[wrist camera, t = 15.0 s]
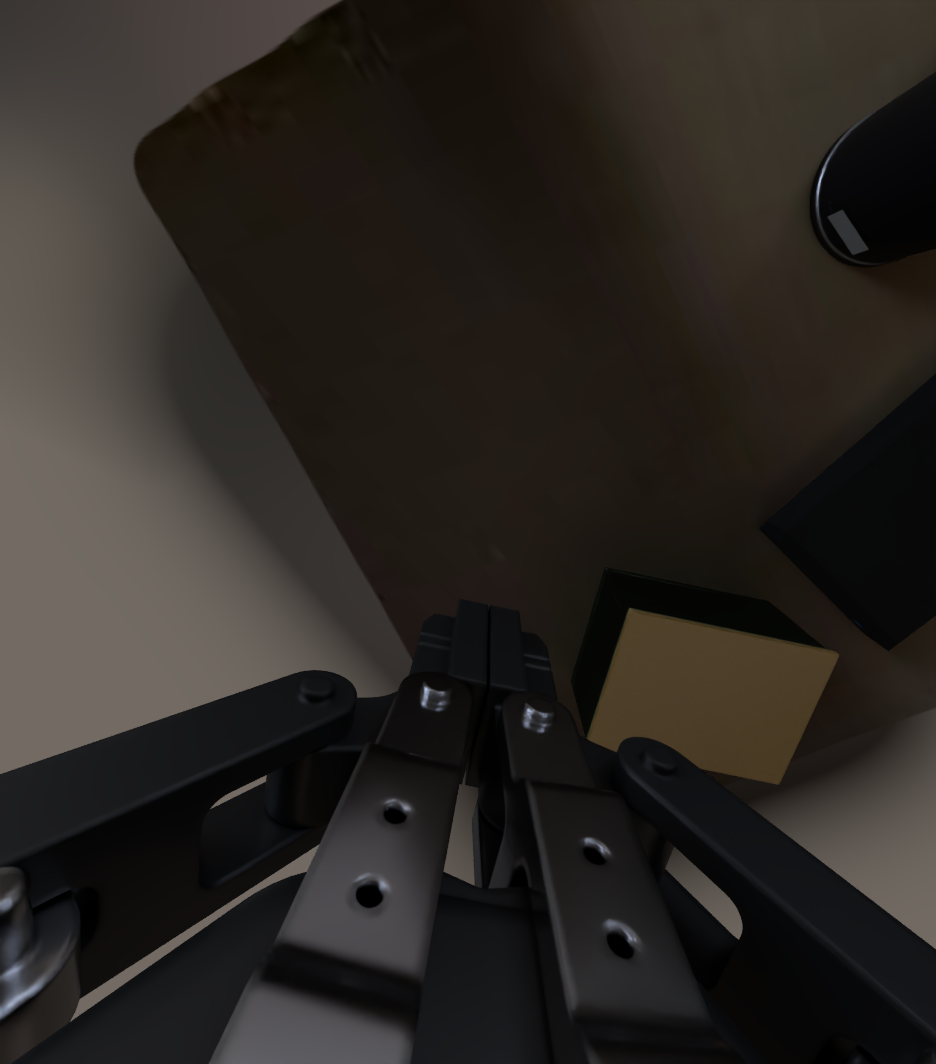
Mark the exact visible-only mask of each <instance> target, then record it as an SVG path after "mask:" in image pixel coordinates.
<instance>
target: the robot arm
mask: <svg viewBox="0 0 936 1064" xmlns="http://www.w3.org/2000/svg"><path fill="white" fill-rule="evenodd" d="M810 216H811V222H812V226H813V229H814V232H815V234H816V237H817V238H818V240H819V242H820V243H821V245H822V246H823V248H824V249H825V250H826V251H827V252H828V253H829V254H830V255H832V256H833V257H834V258H836V259H837V260H839V261H841V262H843V263H846V264H849V265H852V266H858V267H875V266H881V265H885V264H889V263H892V262H895V261H899V260H901V259H904V258H906V257H908V256H911V255H915V254H919V253H923V252H927V251H930V250H934V249H936V72H934V73H933V74H931V75H930V76H928V77H927V78H926V79H924V80H923V81H921V82H920V83H918V84H917V85H915V86H914V87H912V88H911V89H909V90H908V91H906V92H905V93H903V94H902V95H900V96H899V97H897V98H896V99H894V100H893V101H891V102H890V103H888V104H887V105H885V106H884V107H882V108H881V109H879V110H878V111H876V112H874V113H872V114H870V115H868V116H866V117H865V118H863V119H862V120H860V121H859V122H858V123H856V124H855V125H853V126H852V127H851V128H849V129H848V130H847V131H846V132H844V133H843V134H842V135H841V136H840V137H839V138H838V139H837V141H836V142H835V143H834V144H833V145H832V146H831V148H830V149H829V150H828V152H827V154H826V155H825V157H824V158H823V160H822V162H821V164H820V166H819V168H818V170H817V173H816V176H815V178H814V182H813V185H812V190H811V197H810ZM465 770H466V780H465V785H468V786H473V787H478V799H477V803H476V807H475V811H474V815H473V818H472V832H473V853H474V876H475V886H474V885H471V884H469V883H467V882H465V881H463V880H460V879H458V878H456V877H454V876H451V875H450V874H447V873H445V872H443V870H444V865H445V860H446V855H447V849H448V843H449V838H450V833H451V827H452V822H453V816H454V811H455V805H456V799H457V794H458V789H459V784H462V782H463V778H464V773H465ZM265 775H267V777H266V782H264V783H263V784H260V785H258V786H256V787H254V788H252V789H250V790H248V791H246V792H244V793H242V794H240V795H238V796H236V797H234V798H232V799H230V800H228V801H226V802H224V803H222V804H220V805H218V806H216V807H214V808H212V809H210V808H211V807H212V806H213V805H214V804H215V803H216V802H217V801H218V800H219V799H220V798H222V797H223V796H225V795H227V794H228V793H230V792H232V791H234V790H236V789H239V788H240V787H242V786H245V785H247V784H249V783H251V782H253V781H255V780H257V779H259V778H261V777H263V776H265ZM317 845H319V847H318V849H317V851H316V853H315V856H314V858H313V860H312V862H311V864H310V866H309V868H308V870H307V872H305V873H301V874H297V875H294V876H290V877H288V878H285V879H283V880H280V881H278V882H276V883H273V884H271V885H269V886H267V887H266V888H264V889H262V890H260V891H258V892H257V893H255V894H253V895H251V896H250V897H248V898H247V899H245V900H244V901H242V902H241V903H240V904H238V905H237V906H235V907H234V908H232V909H231V910H230V911H228V912H227V913H225V914H224V915H222V916H221V917H220V918H218V919H217V920H215V921H214V922H212V923H211V924H210V925H208V926H207V927H205V928H204V929H202V930H201V931H200V932H198V933H197V934H195V935H194V936H193V937H191V938H190V939H188V940H187V941H185V942H184V943H182V944H181V945H180V946H178V947H177V948H175V949H174V950H172V951H171V952H170V953H168V954H167V955H165V956H164V957H162V958H161V959H160V960H158V961H157V962H155V963H154V964H152V965H151V966H149V967H148V968H147V969H145V970H144V971H142V972H141V973H139V974H138V975H137V976H135V977H134V978H132V979H131V980H130V981H128V982H127V983H125V984H124V985H122V986H121V987H119V988H118V989H117V990H115V991H114V992H112V993H111V994H110V995H108V996H107V997H105V998H104V999H102V1000H101V1001H99V1002H98V1003H97V1004H95V1005H94V1006H92V1007H91V1008H89V1009H88V1010H87V1011H85V1012H84V1013H82V1014H81V1015H79V1016H78V1017H77V1018H75V1019H74V1020H72V1021H71V1019H72V1017H73V1015H74V1013H75V1011H76V1008H77V1005H78V1002H79V999H80V998H82V997H83V996H85V995H87V994H88V993H90V992H91V991H93V990H94V989H96V988H97V987H99V986H101V985H102V984H103V983H105V982H107V981H108V980H110V979H111V978H113V977H114V976H116V975H117V974H119V973H121V972H122V971H124V970H125V969H127V968H128V967H130V966H131V965H133V964H135V963H136V962H138V961H139V960H141V959H142V958H144V957H145V956H147V955H148V954H150V953H152V952H153V951H155V950H156V949H158V948H159V947H161V946H162V945H164V944H166V943H167V942H169V941H170V940H172V939H173V938H175V937H176V936H178V935H179V934H181V933H183V932H184V931H186V930H187V929H189V928H190V927H192V926H193V925H195V924H196V923H198V922H200V921H201V920H203V919H204V918H206V917H207V916H209V915H210V914H212V913H213V912H215V911H216V910H218V909H220V908H221V907H223V906H224V905H226V904H227V903H229V902H230V901H232V900H234V899H235V898H237V897H238V896H240V895H241V894H243V893H244V892H246V891H247V890H249V889H250V888H252V887H254V886H255V885H257V884H258V883H260V882H261V881H263V880H264V879H266V878H268V877H269V876H271V875H272V874H274V873H275V872H277V871H278V870H280V869H282V868H283V867H285V866H286V865H288V864H289V863H291V862H292V861H294V860H295V859H297V858H299V857H300V856H301V855H303V854H305V853H306V852H308V851H309V850H311V849H312V848H314V847H316V846H317ZM674 846H675V847H676V848H677V849H678V850H679V851H680V852H681V853H682V854H683V855H684V856H685V857H687V858H688V859H689V860H690V861H691V862H692V863H693V864H694V865H695V866H696V867H697V868H699V870H701V871H702V872H703V873H704V874H705V875H706V876H707V877H708V878H709V879H710V880H711V881H712V882H713V883H715V884H716V885H717V886H718V887H719V888H720V889H721V890H722V891H723V892H724V893H725V894H726V895H727V896H728V897H729V898H730V899H731V900H732V901H733V903H734V904H735V906H736V907H737V909H738V911H739V914H740V916H741V920H742V924H743V930H742V934H741V937H740V939H739V940H738V939H737V938H736V937H734V936H733V935H732V934H731V933H730V932H729V931H728V930H727V929H726V928H725V927H724V926H723V925H722V924H721V923H720V922H719V921H718V920H717V919H716V918H715V917H714V916H712V914H711V913H710V912H709V911H708V910H707V909H706V908H704V906H703V905H701V904H700V903H699V902H698V901H697V900H696V899H695V898H694V897H693V896H692V895H691V894H690V893H689V892H688V891H687V890H686V889H685V888H684V887H683V886H682V885H681V884H680V883H679V882H678V881H677V880H676V879H675V878H674V877H673V876H672V875H671V874H670V873H669V872H668V871H667V870H666V869H665V867H666V865H667V862H668V860H669V858H670V855H671V852H672V850H673V848H674ZM70 1021H71V1022H70ZM0 1064H936V949H935V948H933V947H932V946H931V945H929V944H928V943H927V942H925V941H924V940H923V939H922V938H920V937H919V936H917V935H916V934H915V933H913V932H912V931H911V930H910V929H908V928H907V927H906V926H905V925H903V924H902V923H901V922H899V921H898V920H897V919H895V918H894V917H893V916H892V915H890V914H889V913H887V912H886V911H885V910H884V909H882V908H881V907H880V906H879V905H877V904H876V903H875V902H873V901H872V900H871V899H869V898H868V897H867V896H865V895H864V894H863V893H861V892H860V891H859V890H858V889H856V888H855V887H854V886H853V885H851V884H850V883H848V882H847V881H846V880H845V879H843V878H842V877H841V876H839V875H838V874H837V873H836V872H834V871H833V870H832V869H830V868H829V867H828V866H826V865H825V864H824V863H822V862H821V861H820V860H819V859H817V858H816V857H815V856H813V855H812V854H811V853H810V852H808V851H807V850H806V849H804V848H803V847H802V846H800V845H799V844H798V843H796V842H795V841H794V840H793V839H791V838H790V837H789V836H787V835H786V834H785V833H783V832H782V831H781V830H779V829H778V828H777V827H776V826H774V825H773V824H772V823H770V822H769V821H767V819H765V818H764V817H762V816H761V815H760V814H759V813H757V812H756V811H755V810H753V809H752V808H751V807H749V806H748V805H747V804H745V803H744V802H743V801H742V800H740V799H739V798H738V797H736V796H735V795H734V794H733V793H731V792H730V791H729V790H727V789H726V788H725V787H723V786H722V785H721V784H720V783H718V782H717V781H716V780H714V779H713V778H712V777H710V776H709V775H708V774H707V773H705V772H704V771H703V770H701V769H700V768H699V767H697V766H696V765H695V764H694V763H692V762H691V761H690V760H688V759H687V758H686V757H684V756H683V755H682V754H680V753H679V752H678V751H676V750H675V749H673V748H671V747H670V746H668V745H666V744H664V743H662V742H659V741H657V740H654V739H650V738H645V737H630V738H627V739H625V740H623V741H622V742H621V743H620V745H619V748H618V751H617V752H615V751H612V750H610V749H608V748H605V747H603V746H601V745H598V744H596V743H594V742H592V741H589V740H588V739H586V738H584V737H582V736H581V735H579V732H578V729H577V726H576V723H575V720H574V718H573V716H572V714H571V713H570V711H569V710H568V709H567V708H566V707H565V706H564V705H562V704H561V703H560V702H558V699H557V694H556V689H555V684H554V679H553V674H552V672H551V664H550V661H549V654H548V649H547V646H546V645H545V644H544V643H543V641H542V640H541V639H540V638H539V637H538V636H537V634H532V633H527V632H522V631H521V623H520V614H519V611H516V610H511V609H507V608H502V607H497V606H492V605H490V607H489V609H488V605H487V604H482V603H477V602H472V601H468V600H463V599H459V603H458V607H457V612H456V617H455V618H454V617H449V616H444V615H440V614H434V615H432V616H431V617H429V618H428V619H427V620H425V621H424V623H423V626H422V630H421V634H420V637H419V641H418V644H417V648H416V652H415V655H414V659H413V662H412V666H411V670H410V673H409V676H408V677H406V678H405V679H404V680H403V681H402V683H401V684H400V687H399V689H398V691H397V692H395V693H392V694H390V695H386V696H381V697H372V698H357V692H356V689H355V687H354V686H353V684H352V683H351V682H350V681H349V680H347V679H346V678H344V677H342V676H340V675H338V674H335V673H332V672H328V671H320V670H319V671H317V670H310V671H302V672H298V673H294V674H291V675H288V676H286V677H283V678H280V679H277V680H274V681H271V682H268V683H265V684H262V685H259V686H256V687H254V688H251V689H248V690H245V691H242V692H239V693H236V694H233V695H230V696H227V697H224V698H221V699H218V700H216V701H213V702H210V703H207V704H204V705H201V706H198V707H195V708H192V709H189V710H187V711H184V712H181V713H178V714H175V715H172V716H169V717H167V718H163V719H160V720H158V721H155V722H151V723H149V724H146V725H143V726H140V727H137V728H134V729H131V730H128V731H126V732H122V733H120V734H117V735H114V736H111V737H108V738H105V739H102V740H99V741H96V742H93V743H91V744H87V745H84V746H81V747H79V748H76V749H73V750H70V751H67V752H64V753H61V754H58V755H55V756H53V757H50V758H46V759H44V760H41V761H38V762H35V763H32V764H29V765H26V766H23V767H21V768H18V769H15V770H11V771H9V772H6V773H3V774H0Z"/></svg>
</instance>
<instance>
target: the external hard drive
mask: <svg viewBox="0 0 936 1064" xmlns="http://www.w3.org/2000/svg"><path fill="white" fill-rule="evenodd" d="M759 529H760V530H761V531H762V532H763V533H764V534H765V535H766V536H767V537H768V538H769V539H770V540H771V541H772V542H773V543H774V544H775V545H776V546H777V547H778V548H779V549H780V550H781V551H782V552H783V553H784V554H785V555H786V556H787V557H788V558H789V559H790V560H791V561H792V562H793V563H794V564H795V565H796V566H797V567H798V568H799V569H800V570H801V571H802V572H803V573H804V574H805V575H806V576H807V577H808V578H809V579H810V580H811V581H812V582H813V583H814V584H815V585H816V586H817V587H818V588H819V589H820V590H821V591H822V592H823V593H824V594H825V595H826V596H827V597H828V598H829V599H830V600H831V601H832V602H833V603H834V604H835V605H836V606H837V607H838V608H839V609H840V610H841V611H842V612H843V613H844V614H845V615H846V616H847V617H848V618H849V619H850V620H851V621H852V622H853V623H854V624H855V625H856V626H857V627H858V628H859V629H860V630H861V631H862V632H863V633H864V634H866V635H867V636H868V637H870V638H871V639H872V640H874V641H875V642H877V643H878V644H879V645H881V646H882V647H884V648H885V649H887V650H888V651H889V650H890V649H892V648H893V647H894V646H896V645H897V644H898V643H900V642H901V641H902V640H904V639H905V638H906V637H908V636H909V635H910V634H912V633H913V632H914V631H916V630H917V629H918V628H920V627H921V626H922V625H924V624H925V623H926V622H928V621H929V620H930V619H932V618H933V617H934V616H936V374H935V375H934V376H933V377H932V378H930V379H929V380H928V381H927V382H926V383H925V384H924V385H922V386H921V387H920V388H919V389H918V390H917V391H916V392H914V393H913V394H912V395H911V396H910V397H909V398H908V399H906V400H905V401H904V402H903V403H902V404H901V405H900V406H898V407H897V408H896V409H895V410H894V411H893V412H892V413H890V414H889V415H888V416H887V417H886V418H885V419H884V420H882V421H881V422H880V423H879V424H878V425H877V426H876V427H874V428H873V429H872V430H871V431H870V432H869V433H868V434H866V435H865V436H864V437H863V438H862V439H861V440H860V441H858V442H857V443H856V444H855V445H854V446H853V447H852V448H850V449H849V450H848V451H847V452H846V453H845V454H844V455H842V456H841V457H840V458H839V459H838V460H837V461H836V462H834V463H833V464H832V465H831V466H830V467H829V468H828V469H826V470H825V471H824V472H823V473H822V474H821V475H820V476H818V477H817V478H816V479H815V480H814V481H813V482H812V483H810V484H809V485H808V486H807V487H806V488H805V489H804V490H802V491H801V492H800V493H799V494H798V495H797V496H796V497H794V498H793V499H792V500H791V501H790V502H789V503H788V504H786V505H785V506H784V507H783V508H782V509H781V510H780V511H778V512H777V513H776V514H775V515H774V516H773V517H772V518H770V519H769V520H768V521H767V522H766V523H765V524H764V525H762V526H761V527H760V528H759Z"/></svg>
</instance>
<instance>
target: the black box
mask: <svg viewBox="0 0 936 1064" xmlns="http://www.w3.org/2000/svg"><path fill="white" fill-rule="evenodd" d="M629 609H634V610H639V611H643V612H648V613H653V614H658V615H663V616H667V617H672V618H677V619H682V620H687V621H692V622H696V623H701V624H706V625H711V626H716V627H721V628H725V629H730V630H735V631H740V632H745V633H749V634H754V635H759V636H764V637H769V638H774V639H778V640H783V641H788V642H793V643H798V644H802V645H807V646H812V647H817V648H822V649H825V648H824V647H823V646H822V645H821V644H819V643H818V642H817V641H816V640H815V639H813V638H812V637H811V636H810V635H809V634H807V633H806V632H805V631H804V630H803V629H801V628H800V627H799V626H798V625H796V624H795V623H794V622H793V621H792V620H790V619H789V618H788V617H787V616H786V615H784V614H783V613H782V612H781V611H780V610H778V609H777V608H776V607H775V606H774V605H772V604H771V603H770V602H769V601H764V600H760V599H755V598H750V597H745V596H741V595H736V594H731V593H726V592H721V591H717V590H712V589H707V588H702V587H698V586H693V585H688V584H683V583H679V582H674V581H669V580H664V579H659V578H655V577H650V576H645V575H640V574H636V573H631V572H626V571H621V570H617V569H612V568H607V567H605V569H604V573H603V576H602V579H601V583H600V586H599V589H598V593H597V596H596V599H595V603H594V606H593V609H592V612H591V616H590V619H589V622H588V626H587V629H586V632H585V636H584V639H583V642H582V646H581V649H580V652H579V655H578V659H577V662H576V665H575V669H574V672H573V675H572V679H571V683H572V687H573V691H574V695H575V699H576V703H577V707H578V710H579V714H580V718H581V722H582V726H583V730H584V734H585V738H586V739H587V737H588V734H589V731H590V728H591V725H592V722H593V718H594V715H595V712H596V709H597V706H598V703H599V700H600V697H601V694H602V691H603V688H604V685H605V682H606V678H607V675H608V672H609V669H610V666H611V663H612V660H613V657H614V654H615V651H616V648H617V645H618V642H619V638H620V635H621V632H622V629H623V626H624V623H625V620H626V617H627V614H628V611H629Z"/></svg>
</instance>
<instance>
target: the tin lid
mask: <svg viewBox="0 0 936 1064" xmlns="http://www.w3.org/2000/svg"><path fill="white" fill-rule="evenodd" d="M838 658H839V654H838V653H836V652H835V651H831V650H827V649H822V648H817V647H812V646H807V645H802V644H798V643H793V642H788V641H783V640H778V639H774V638H769V637H764V636H759V635H754V634H749V633H745V632H740V631H735V630H730V629H725V628H721V627H716V626H711V625H706V624H701V623H696V622H692V621H687V620H682V619H677V618H672V617H667V616H663V615H658V614H653V613H648V612H643V611H639V610H634V609H629V611H628V614H627V617H626V620H625V623H624V626H623V629H622V632H621V635H620V638H619V642H618V645H617V648H616V651H615V654H614V657H613V660H612V663H611V666H610V669H609V672H608V675H607V678H606V682H605V685H604V688H603V691H602V694H601V697H600V700H599V703H598V706H597V709H596V712H595V715H594V718H593V722H592V725H591V728H590V731H589V734H588V737H587V739H588V740H589V741H592V742H594V743H596V744H598V745H601V746H603V747H605V748H608V749H610V750H612V751H615V752H617V751H618V748H619V745H620V743H621V742H622V741H623V740H625V739H627V738H630V737H645V738H650V739H654V740H657V741H659V742H662V743H664V744H666V745H668V746H670V747H671V748H673V749H675V750H676V751H678V752H679V753H680V754H682V755H683V756H684V757H686V758H687V759H688V760H690V761H691V762H692V763H694V764H695V765H696V766H697V767H699V768H700V769H704V770H709V771H714V772H719V773H723V774H728V775H733V776H738V777H743V778H749V779H753V780H758V781H763V782H768V783H773V784H779V783H780V781H781V779H782V777H783V775H784V773H785V771H786V769H787V766H788V764H789V762H790V760H791V758H792V756H793V754H794V752H795V750H796V747H797V745H798V743H799V741H800V739H801V737H802V735H803V732H804V730H805V728H806V726H807V724H808V722H809V720H810V718H811V715H812V713H813V711H814V709H815V707H816V705H817V703H818V700H819V698H820V696H821V694H822V692H823V690H824V688H825V685H826V683H827V681H828V679H829V677H830V675H831V673H832V671H833V668H834V666H835V664H836V662H837V660H838Z"/></svg>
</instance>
